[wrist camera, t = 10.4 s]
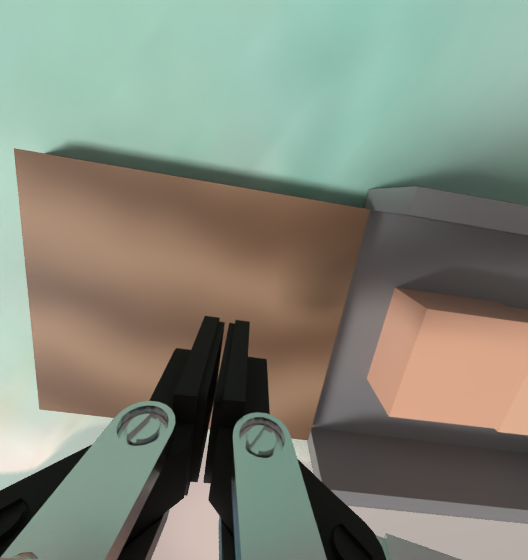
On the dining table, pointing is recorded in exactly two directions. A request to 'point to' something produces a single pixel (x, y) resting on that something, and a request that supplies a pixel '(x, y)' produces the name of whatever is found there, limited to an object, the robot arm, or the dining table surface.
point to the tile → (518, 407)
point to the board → (176, 281)
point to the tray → (363, 341)
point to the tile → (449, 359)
